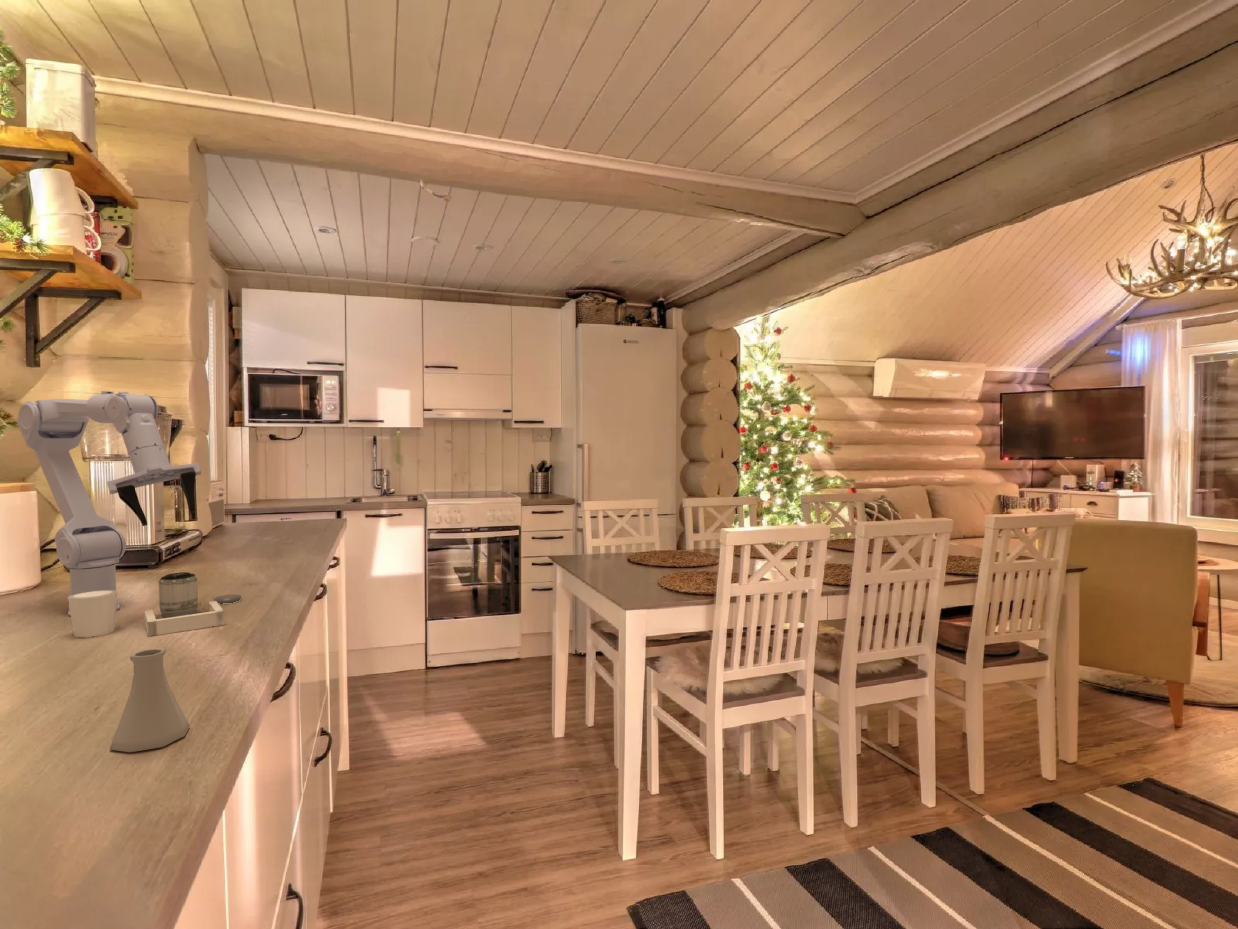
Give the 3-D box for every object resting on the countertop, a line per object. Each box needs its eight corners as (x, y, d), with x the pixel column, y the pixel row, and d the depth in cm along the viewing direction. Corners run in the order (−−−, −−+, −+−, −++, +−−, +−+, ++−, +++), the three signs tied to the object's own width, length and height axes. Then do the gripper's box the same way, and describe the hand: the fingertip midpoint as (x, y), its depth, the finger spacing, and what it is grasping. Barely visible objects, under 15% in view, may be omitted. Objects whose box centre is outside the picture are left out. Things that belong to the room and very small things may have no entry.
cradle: (144, 624, 123) (144, 610, 123) (216, 613, 130) (216, 600, 130) (148, 636, 115) (147, 622, 115) (224, 624, 122) (224, 611, 122)
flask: (137, 727, 78) (134, 643, 78) (202, 724, 79) (199, 641, 78) (94, 756, 71) (91, 664, 71) (165, 753, 72) (162, 661, 71)
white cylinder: (91, 639, 113) (89, 598, 113) (58, 637, 115) (57, 597, 114) (128, 628, 120) (127, 589, 120) (97, 626, 121) (96, 588, 121)
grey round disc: (212, 602, 140) (212, 597, 140) (239, 598, 143) (239, 593, 143) (215, 607, 136) (215, 601, 136) (243, 603, 139) (243, 597, 139)
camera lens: (205, 611, 131) (204, 572, 131) (172, 619, 125) (171, 578, 125) (185, 608, 134) (184, 570, 134) (152, 616, 128) (151, 575, 128)
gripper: (98, 453, 118) (121, 523, 116) (191, 436, 127) (214, 500, 125) (101, 467, 124) (123, 534, 122) (190, 449, 133) (212, 511, 131)
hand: (169, 518), depth 124 cm, fingers open, 7 cm apart
